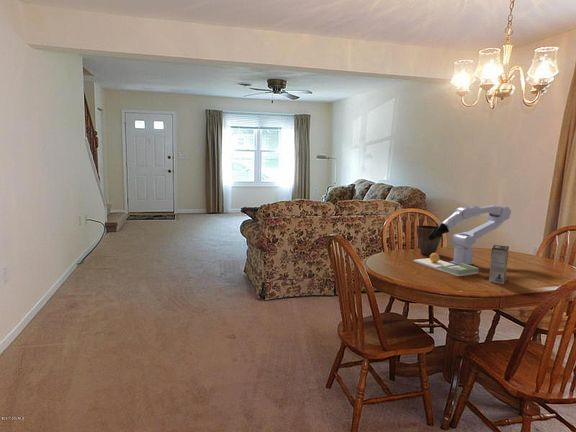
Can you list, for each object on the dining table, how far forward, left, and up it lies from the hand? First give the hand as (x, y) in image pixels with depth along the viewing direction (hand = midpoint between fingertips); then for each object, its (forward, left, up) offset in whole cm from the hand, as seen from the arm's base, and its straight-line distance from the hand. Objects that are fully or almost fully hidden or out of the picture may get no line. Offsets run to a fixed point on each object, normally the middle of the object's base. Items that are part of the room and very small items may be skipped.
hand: (431, 237), depth 206 cm
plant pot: (-20, -22, -15) cm, 33 cm away
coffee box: (-10, +32, -15) cm, 37 cm away
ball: (-5, -2, -12) cm, 13 cm away
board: (-5, +5, -15) cm, 17 cm away
